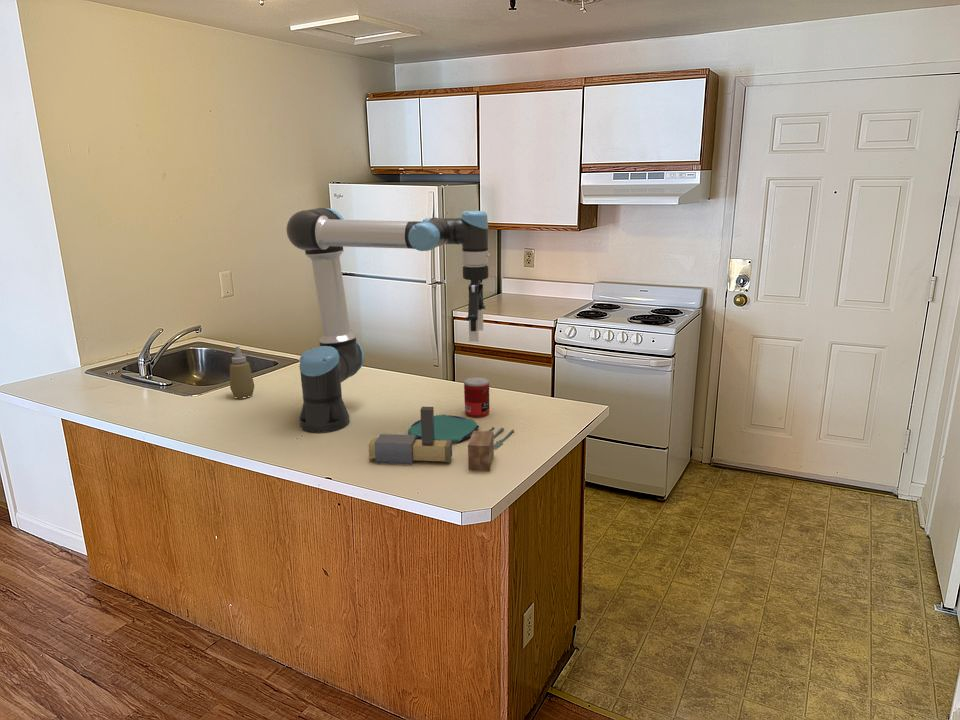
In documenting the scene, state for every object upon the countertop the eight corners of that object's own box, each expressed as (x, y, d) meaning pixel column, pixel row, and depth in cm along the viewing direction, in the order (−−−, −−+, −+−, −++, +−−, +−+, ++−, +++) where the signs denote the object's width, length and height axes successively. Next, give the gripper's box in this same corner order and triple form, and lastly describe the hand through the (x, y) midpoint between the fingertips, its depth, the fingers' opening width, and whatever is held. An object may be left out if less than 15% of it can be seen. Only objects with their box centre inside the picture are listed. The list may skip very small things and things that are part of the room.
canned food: (487, 418, 214) (486, 385, 211) (462, 417, 216) (461, 383, 213) (491, 410, 221) (491, 377, 218) (467, 408, 223) (466, 376, 220)
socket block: (468, 470, 178) (467, 445, 176) (473, 454, 188) (473, 430, 186) (489, 470, 177) (489, 446, 175) (493, 455, 187) (493, 431, 185)
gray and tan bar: (369, 458, 184) (365, 409, 180) (373, 452, 188) (370, 403, 184) (449, 461, 181) (447, 411, 177) (452, 455, 185) (450, 406, 182)
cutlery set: (431, 417, 217) (431, 410, 216) (518, 432, 204) (518, 425, 203) (397, 439, 200) (397, 432, 199) (489, 458, 187) (489, 451, 186)
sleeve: (375, 463, 183) (374, 442, 182) (381, 454, 189) (380, 433, 187) (412, 464, 182) (411, 443, 180) (417, 455, 188) (416, 435, 186)
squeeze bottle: (260, 395, 240) (254, 345, 235) (241, 401, 234) (235, 351, 229) (245, 391, 245) (239, 343, 240) (226, 398, 238) (219, 348, 233)
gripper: (484, 271, 187) (484, 346, 193) (491, 259, 211) (492, 326, 217) (457, 271, 188) (458, 346, 194) (467, 259, 212) (468, 325, 218)
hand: (476, 335), depth 205 cm, fingers open, 13 cm apart
